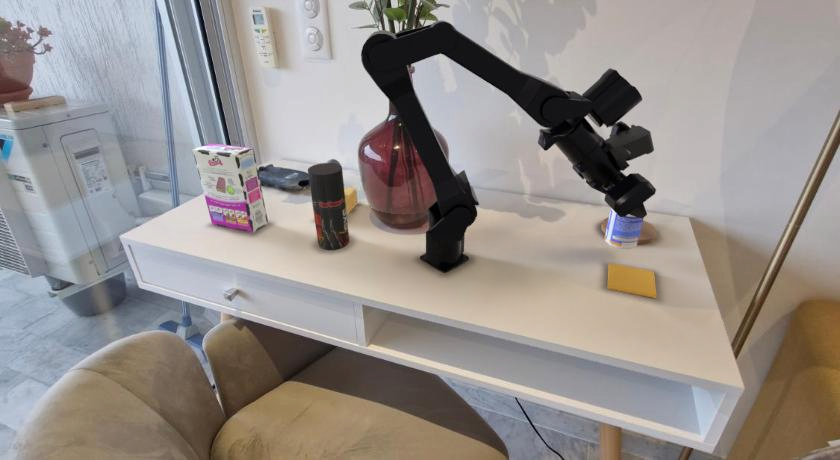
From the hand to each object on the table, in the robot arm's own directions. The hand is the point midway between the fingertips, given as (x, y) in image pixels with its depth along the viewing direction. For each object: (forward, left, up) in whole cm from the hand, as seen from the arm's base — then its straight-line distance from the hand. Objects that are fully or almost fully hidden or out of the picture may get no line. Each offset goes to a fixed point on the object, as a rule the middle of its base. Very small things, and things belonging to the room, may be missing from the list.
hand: (636, 209), depth 74 cm
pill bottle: (-1, +1, -7) cm, 7 cm away
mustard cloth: (-7, -4, -9) cm, 13 cm away
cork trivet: (+9, +4, -9) cm, 13 cm away
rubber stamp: (-28, +51, -9) cm, 59 cm away
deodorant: (-36, +40, -9) cm, 55 cm away
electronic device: (-29, +74, -9) cm, 80 cm away
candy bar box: (-46, +60, -9) cm, 76 cm away
